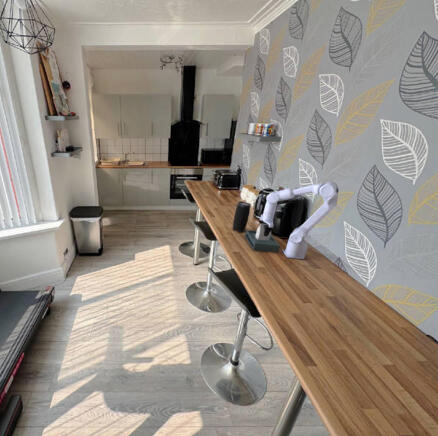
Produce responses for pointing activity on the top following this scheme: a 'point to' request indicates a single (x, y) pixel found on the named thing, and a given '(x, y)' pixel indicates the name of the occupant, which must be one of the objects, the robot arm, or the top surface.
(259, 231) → the light grey block
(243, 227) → the portable speaker
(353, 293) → the top surface
